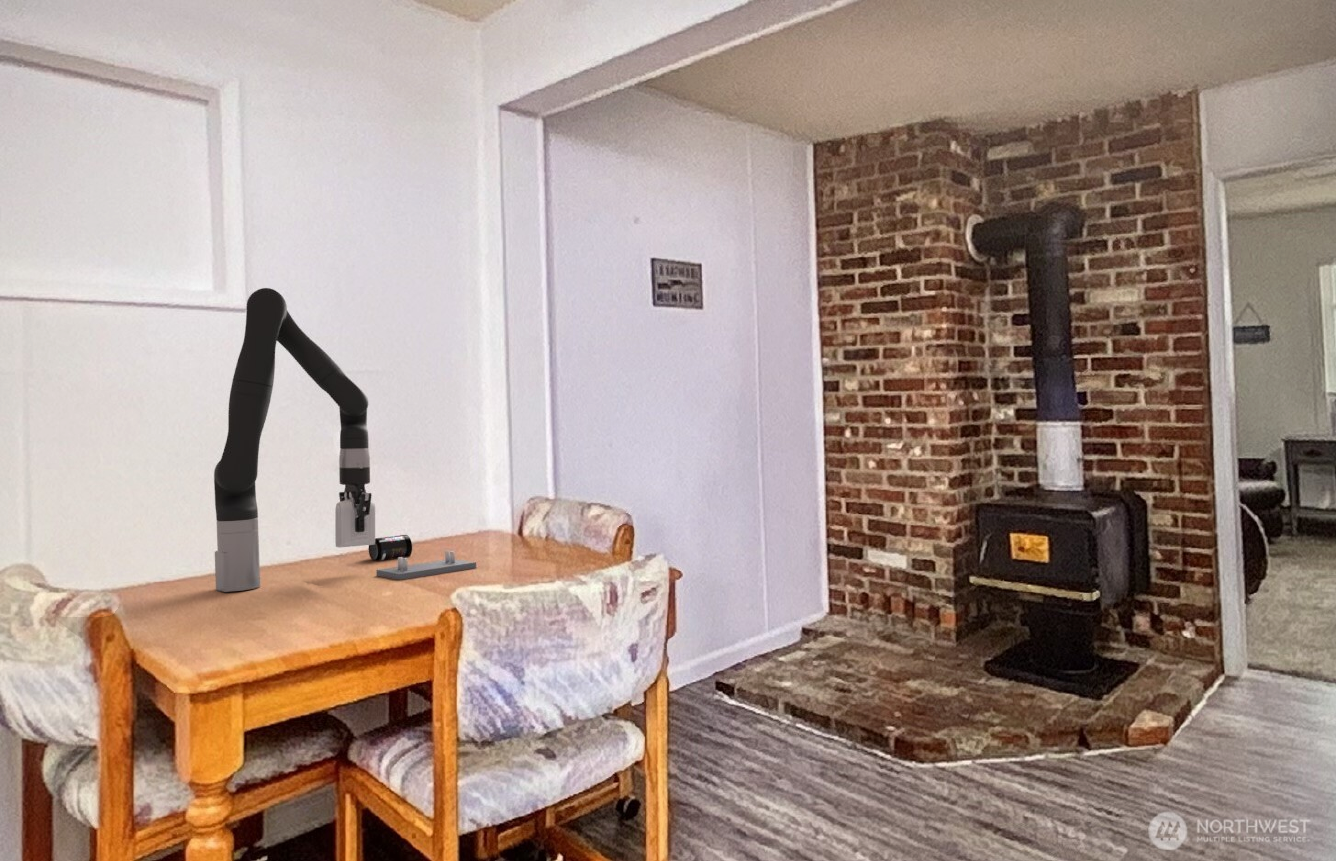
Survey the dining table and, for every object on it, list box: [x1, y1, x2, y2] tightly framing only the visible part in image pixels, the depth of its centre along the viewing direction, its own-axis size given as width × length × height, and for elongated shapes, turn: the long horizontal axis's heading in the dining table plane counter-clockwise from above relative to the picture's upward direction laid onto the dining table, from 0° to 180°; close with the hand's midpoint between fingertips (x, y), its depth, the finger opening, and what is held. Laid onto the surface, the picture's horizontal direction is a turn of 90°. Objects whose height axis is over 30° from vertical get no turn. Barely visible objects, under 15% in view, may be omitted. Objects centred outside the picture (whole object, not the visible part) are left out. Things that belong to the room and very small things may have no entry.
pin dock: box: [375, 550, 477, 581], centre depth 226 cm, size 12×22×4 cm, turn 136°
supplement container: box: [368, 534, 413, 562], centre depth 252 cm, size 7×7×10 cm
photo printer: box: [334, 499, 376, 548], centre depth 227 cm, size 10×4×12 cm, turn 134°
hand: (355, 531), depth 227 cm, fingers closed on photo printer, 4 cm apart
